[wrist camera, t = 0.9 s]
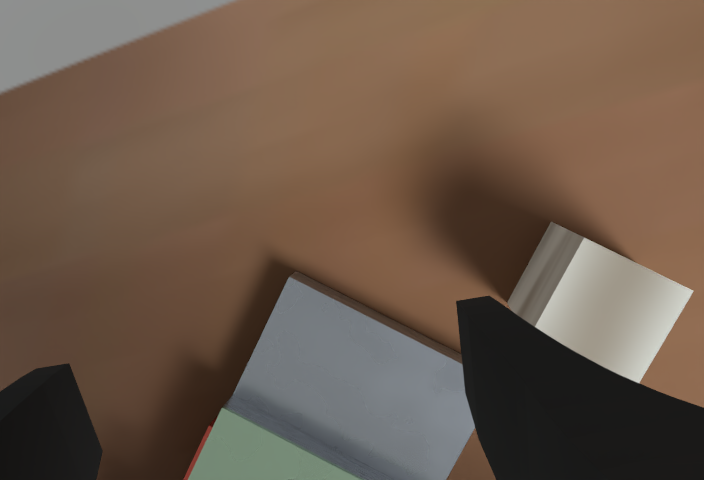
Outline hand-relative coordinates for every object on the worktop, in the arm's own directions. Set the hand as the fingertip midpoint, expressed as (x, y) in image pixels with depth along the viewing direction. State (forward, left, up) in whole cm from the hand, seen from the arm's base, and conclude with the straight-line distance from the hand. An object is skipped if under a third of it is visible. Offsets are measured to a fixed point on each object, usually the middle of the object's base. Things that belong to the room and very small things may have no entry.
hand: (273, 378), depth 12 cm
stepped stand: (-3, +11, -17) cm, 21 cm away
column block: (-9, -3, -17) cm, 19 cm away
